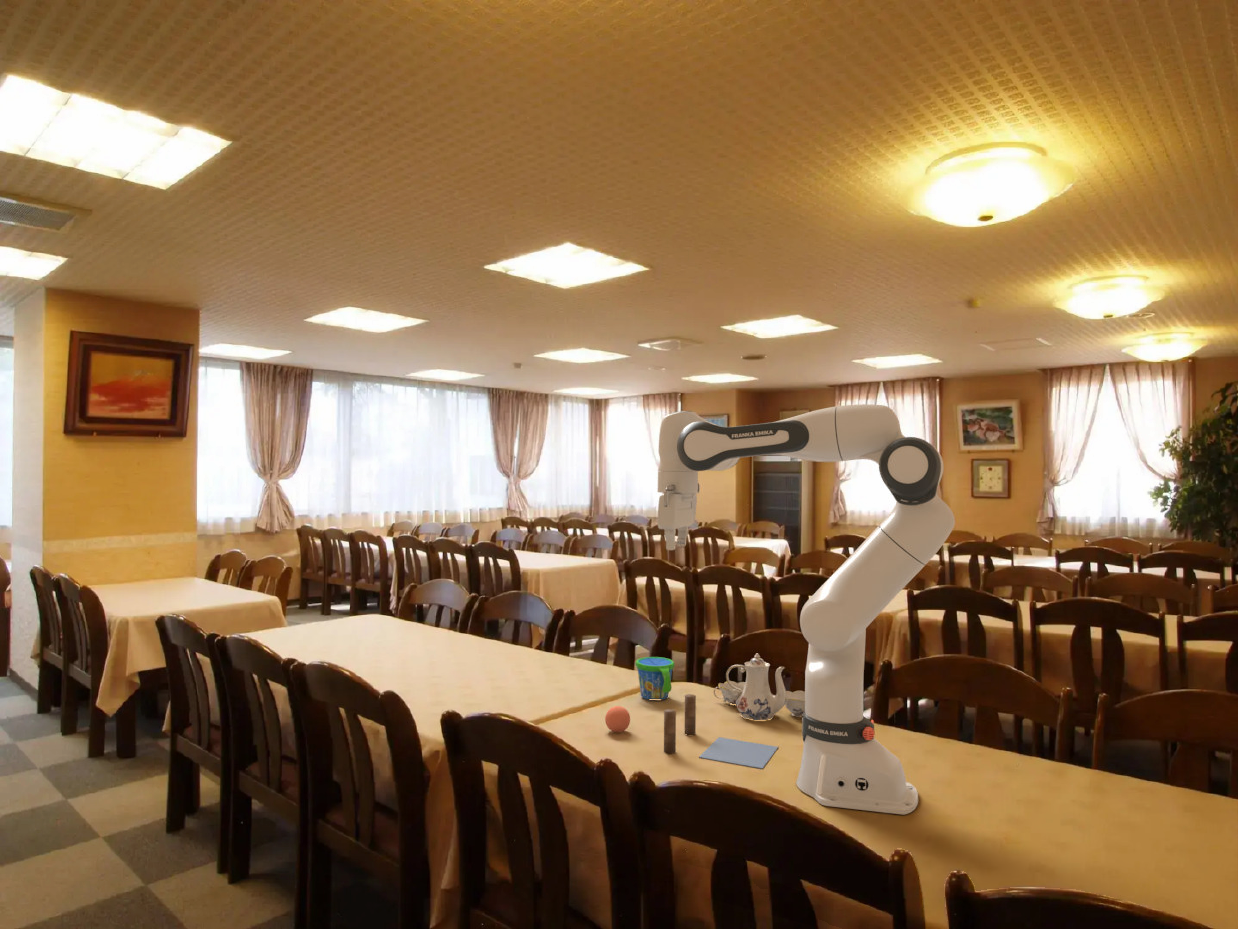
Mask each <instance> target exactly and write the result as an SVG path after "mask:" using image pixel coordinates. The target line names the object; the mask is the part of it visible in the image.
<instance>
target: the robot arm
mask: <svg viewBox="0 0 1238 929" xmlns="http://www.w3.org/2000/svg"><path fill="white" fill-rule="evenodd" d="M658 455H659V465H658V468H657V493H661V494H660V495H659V499H658V507H657V527H658V529H659V530H664V539H665V549H666V550H667V551H675V550H676V549H677V547H679V548H680V547H682V548H684V547H685V546H686V545H687V537H688V533H689V527H690V526H693V525H694V523H695V521H696V520H695V519H696V515H697V514H696V513H697V503H698V500H697V499H698V496H697V494H699V493H700V489H701V488H700V484H699V472H704V471H711V472H712V471H713V472H714V471H715V472H721V471H726V470H730V469H732V468H733V467H734V466H736V465H737V464H738V462H739V461H740V459H741V458H749V457H759V456H760V457H761V456H769V455H770V456H771V455H772V456H783V457H790V458H794V459H798V460H803V461H807V462H818V463H821V462H822V463H834V462H835V463H836V462H838V463H839V462H847V461H849V462H850V461H856V460H868V461H869V460H870V461H872V462H875V463H876V464H877V465H878V471H879V476H880V478H881V479H882V482H883V483H884V484H885V486H886V487H887V489H888V490H889V491H890V494H891V495H892V496H893V498H894V500H895V501H896V503H895V505H894V507H893V509H892V510H891V511H890V513H889V514H888V515H887V516H886V517H885V518H884V519H883V521H882V522H881V523H880V524H879V525H877V527H876V528H875V529H874V530H873V531H872V532H871V534H869V536H867V538H866V539H865V540H864V541H863V542H862V543H861V544H860V545H859V546H858V547H857V549H855V551H853V553H852V554H851V555H850V556H849V557H847V559H846V560H845V561H844V562H843V563H842V564H841V565H840V566H839V567H838V569H836V571H835V572H833V574H832V575H831V576H829V578H828V579H827V580H826V581H825V582H824V583H823V584H821V586H820V587H819V588H818V589H817V590H816V591H815V593H814V594H812V595H811V597H809V599H807V601H806V602H805V603H804V605H803V606H802V609H801V611H800V616H799V625H800V630H801V633H802V635H803V637H804V639H805V640H806V641H807V643H808V650H807V656H806V657H807V658H806V665H805V671H804V675H805V676H804V678H805V680H804V692H805V712H804V713H803V717H801V734H802V741H803V749H802V756H801V762H800V767H799V771H798V776H797V779H796V782H795V784H796V785H797V787H798V789H799V790H800V791H802V792H803V793H805V794H806V795H808V796H810V797H812V798H813V799H815V801H817V802H818V803H819V804H820V805H821V806H822V805H823V806H826V807H833V808H834V807H835V808H842V809H851V810H859V811H860V810H861V811H869V812H877V813H883V814H894V815H895V814H896V815H908V814H910V813H912V812H913V811H915V810H916V808H917V807H918V804H919V793H918V792H919V791H918V790H917V788H916V787H915V786H914V785H913V784H912V783H911V782H907V780H906V775H905V770H904V768H903V765H902V763H901V760H900V759H899V758H898V756H896V755H895V754H893V753H892V752H891V751H890V750H889V749H888V748H886V747H885V746H884V745H882V743H880V742H879V741H878V740H877V739H876V738H875V724H874V723H875V722H874V720H873V719H871V721H870V720H869V719H868V718H867V717H866V716H864V673H865V672H864V670H865V657H866V656H865V654H866V638H867V635H866V633H867V631H866V630H867V628H868V626H870V625H871V623H872V622H873V621H874V620H875V619H876V618H877V617H878V616H879V615H880V614H881V613H882V611H884V610H885V608H886V607H887V606H888V605H889V604H890V603H891V602H892V601H893V599H894V598H896V596H898V594H900V592H901V591H902V590H903V589H904V588H905V587H906V586H907V585H908V584H909V582H911V581H912V579H914V577H915V576H916V575H918V574H919V572H921V570H922V569H923V568H924V567H925V566H926V565H927V564H928V563H929V562H930V561H931V559H933V558H934V556H935V555H936V554H937V553H938V551H939V550H940V549H941V548H942V546H944V544H945V542H946V541H947V539H948V538H949V536H950V534H951V533H952V531H953V530H954V528H955V526H956V518H955V515H954V513H953V511H952V509H951V508H950V507H949V505H948V504H947V503H946V502H945V501H944V500H942V499H941V498H940V496H939V494H938V487H939V485H940V482H941V481H942V479H943V476H944V470H945V468H944V460H943V457H942V455H941V454H940V452H939V450H938V449H937V447H935V446H934V445H932V444H931V443H930V442H928V441H927V440H925V439H922V438H920V437H914V436H907V437H906V436H905V435H904V434H903V432H902V429H901V424H900V421H899V418H898V416H897V415H896V412H895V411H894V410H893V409H892V408H891V407H889V406H887V405H884V404H883V405H882V404H845V405H838V406H832V407H831V406H830V407H826V408H821V409H815V410H812V411H809V412H805V413H802V414H799V415H796V416H792V417H788V418H784V419H781V420H777V421H773V422H765V423H755V424H749V425H748V424H746V425H737V426H721V425H719V424H715V423H714V422H711V421H709V420H707V419H704V418H703V417H702V416H699V415H698V414H697V412H695V411H693V410H683V411H682V410H680V411H674V412H671V413H669V414H666V415H665V416H664V417H663V418H662V421H661V423H660V427H659V434H658ZM676 530H677V532H676ZM676 533H677V538H676Z"/></svg>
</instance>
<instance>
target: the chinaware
mask: <svg viewBox="0 0 1238 929" xmlns="http://www.w3.org/2000/svg"><path fill="white" fill-rule="evenodd" d="M770 666H771V664H770V663H769V662H766V661H764V659H763V658H761V656H760V654H759V653H755V655H754V657H753V658H751V659H750V661H746V662H744V665H743V664H734V665H731V666H730V667H728V669H727V671H726V673H725V679H726V681H725V682H724V683H721V682H719V683H718V686H716V687H715V688H714V690H713V695H714V697H715V698H716V699H723V703H726V702H728V704H730V703H732V704H736V705H737V706H736V707H737V711H739V713H740V715H742V716H743V717H744V718H749V719H753V720H768V719H771V718H773V717H774V715H776V714H778V713H779V711H781V710H782V709H783V708H784V706H785V707H786V709H787V710H788V712H790V713H791V716H792V717H796V718H802V716H803V713H804V712H805V690H804V691H803V690H796V691H790V690H786V687H785V685H784V680H783V678H782V672H783V670H784V669H785V668H786V667H785V666H779V667H778V668H776V671H775V674H774V675H775V676H774V677H775V685H776V686H775V687H776V688H775V689H776V694H773V693H772V692H771V688H770V684H769V668H770ZM734 668H740V670H739V671H740V673H745V672H746V677H745V682H744V681H740V682H736V681H732V680H730V678H729V673H730V672H731V670H732V669H734ZM717 688H718V690H720V691H721V694H722V696H720V697H719V696H717V694H716V689H717ZM744 718H743V719H744ZM773 719H774V718H773Z"/></svg>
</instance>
